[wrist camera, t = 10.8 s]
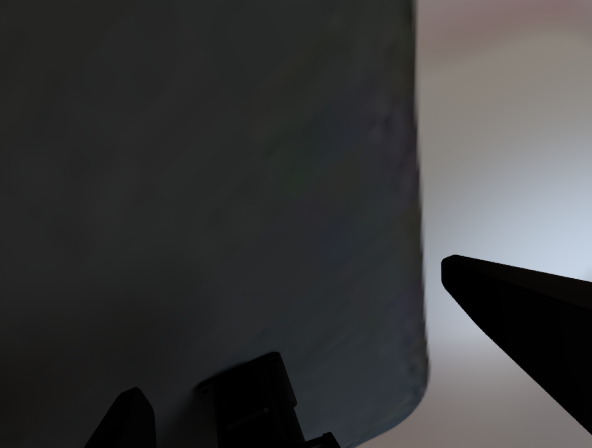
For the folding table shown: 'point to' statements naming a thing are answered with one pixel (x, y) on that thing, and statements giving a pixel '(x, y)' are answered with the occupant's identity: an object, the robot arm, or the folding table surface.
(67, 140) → the folding table surface
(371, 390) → the folding table surface
